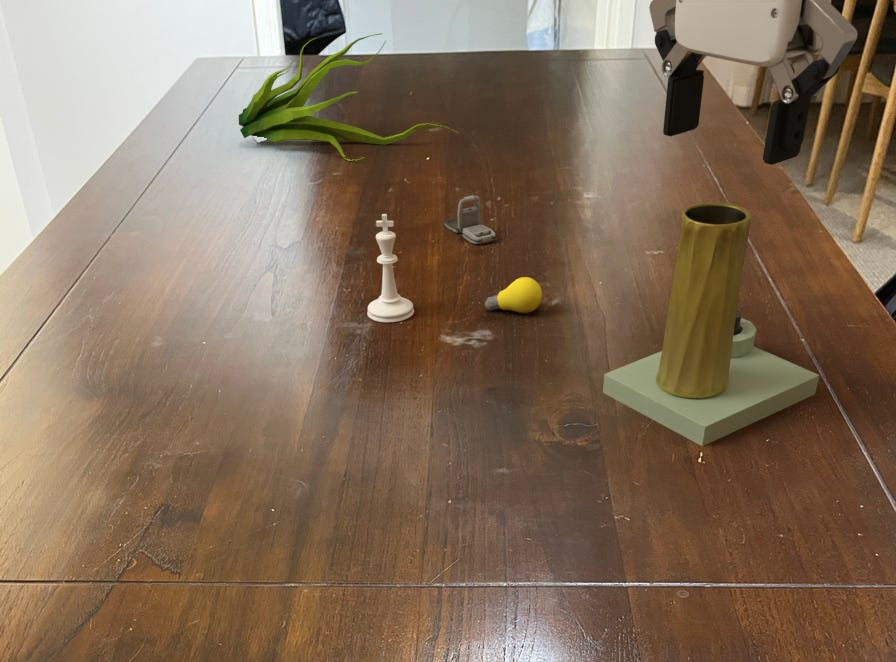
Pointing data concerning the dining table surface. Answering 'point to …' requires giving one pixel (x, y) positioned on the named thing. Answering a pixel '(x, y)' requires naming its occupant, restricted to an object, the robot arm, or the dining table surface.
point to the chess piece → (388, 281)
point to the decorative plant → (305, 110)
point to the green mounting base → (742, 403)
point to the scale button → (737, 322)
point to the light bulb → (517, 296)
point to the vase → (704, 300)
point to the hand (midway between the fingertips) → (728, 145)
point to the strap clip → (470, 223)
